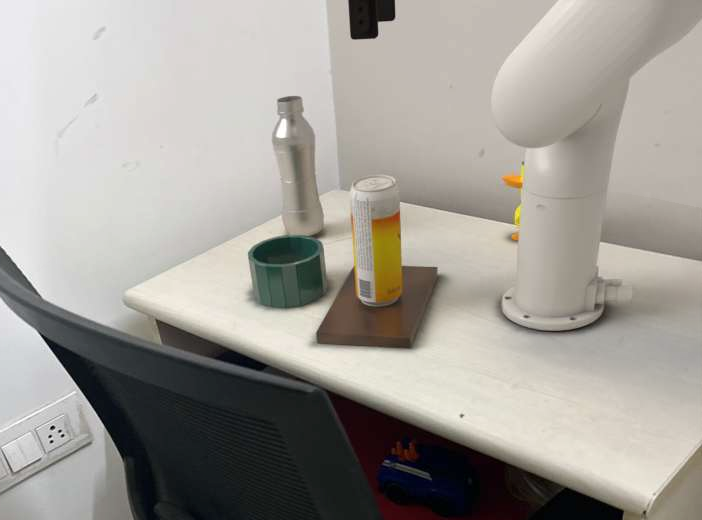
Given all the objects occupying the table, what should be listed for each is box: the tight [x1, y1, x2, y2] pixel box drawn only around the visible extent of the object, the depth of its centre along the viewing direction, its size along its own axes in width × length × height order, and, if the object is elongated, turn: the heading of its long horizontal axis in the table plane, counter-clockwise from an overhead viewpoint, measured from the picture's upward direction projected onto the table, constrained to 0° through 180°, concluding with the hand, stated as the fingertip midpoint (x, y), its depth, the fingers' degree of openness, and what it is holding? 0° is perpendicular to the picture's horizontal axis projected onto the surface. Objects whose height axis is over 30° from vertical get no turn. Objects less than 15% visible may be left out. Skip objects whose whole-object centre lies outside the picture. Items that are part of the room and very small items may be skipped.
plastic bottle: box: [271, 95, 325, 237], centre depth 118 cm, size 6×7×20 cm
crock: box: [247, 234, 329, 309], centre depth 108 cm, size 10×10×6 cm
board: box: [315, 265, 439, 349], centre depth 103 cm, size 12×20×2 cm, turn 164°
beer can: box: [348, 174, 403, 306], centre depth 97 cm, size 6×6×15 cm
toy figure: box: [501, 160, 525, 241], centre depth 112 cm, size 7×4×12 cm, turn 46°
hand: (373, 29), depth 92 cm, fingers open, 9 cm apart
